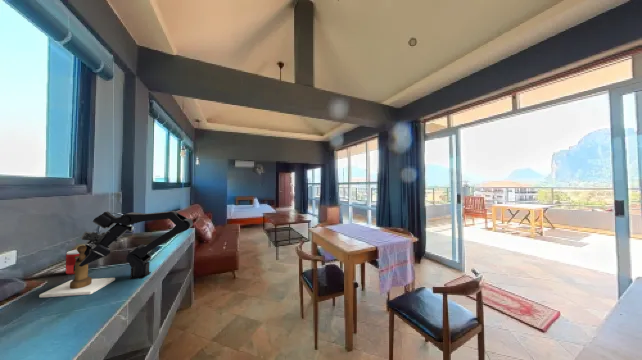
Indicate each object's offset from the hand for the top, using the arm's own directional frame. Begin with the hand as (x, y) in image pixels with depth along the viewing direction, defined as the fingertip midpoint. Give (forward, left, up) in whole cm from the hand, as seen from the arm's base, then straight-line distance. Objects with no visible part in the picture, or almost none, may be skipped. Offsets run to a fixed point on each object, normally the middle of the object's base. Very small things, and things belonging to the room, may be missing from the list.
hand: (78, 263), depth 93 cm
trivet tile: (-1, -1, -11) cm, 11 cm away
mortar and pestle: (-1, -1, -10) cm, 10 cm away
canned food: (+17, -21, -12) cm, 29 cm away
